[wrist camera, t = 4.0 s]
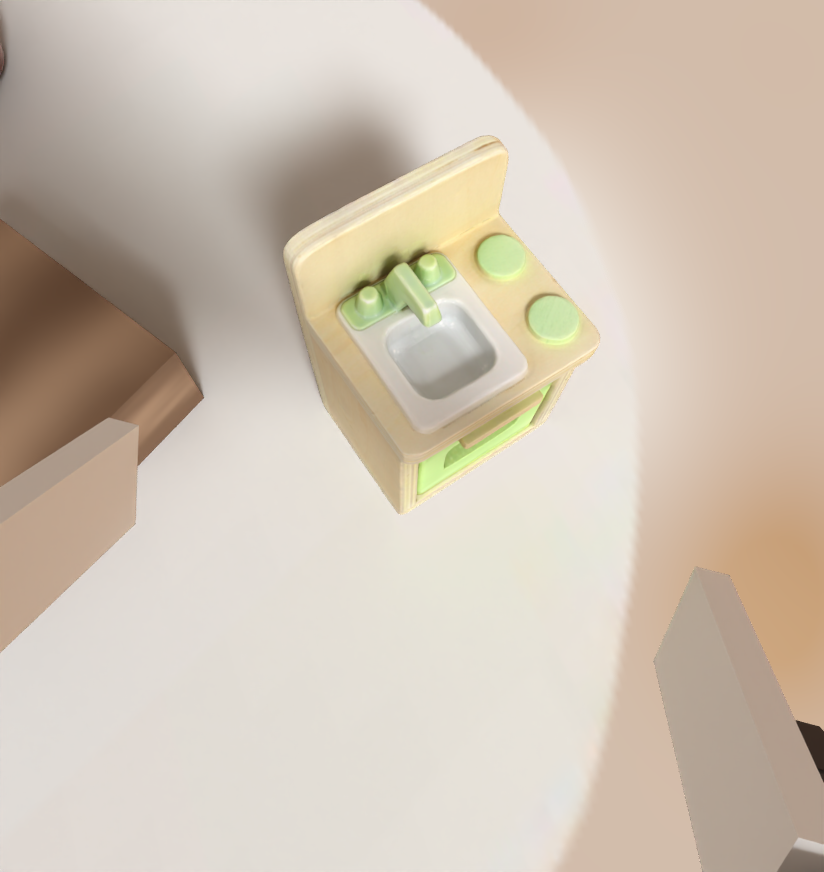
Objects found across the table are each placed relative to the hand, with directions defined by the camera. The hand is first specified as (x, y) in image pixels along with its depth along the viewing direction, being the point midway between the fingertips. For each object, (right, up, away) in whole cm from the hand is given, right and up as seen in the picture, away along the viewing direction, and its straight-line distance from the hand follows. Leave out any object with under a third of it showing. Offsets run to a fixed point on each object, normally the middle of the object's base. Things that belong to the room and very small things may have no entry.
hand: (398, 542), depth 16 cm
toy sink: (+1, +3, +17) cm, 18 cm away
